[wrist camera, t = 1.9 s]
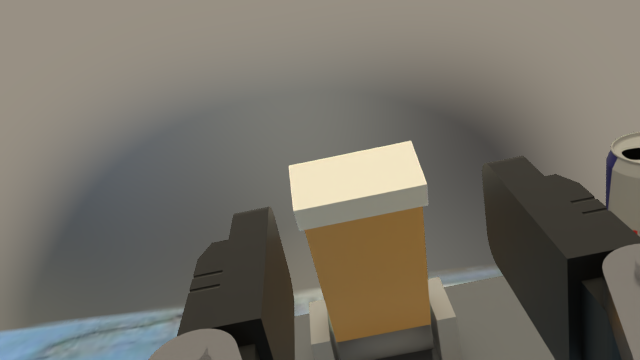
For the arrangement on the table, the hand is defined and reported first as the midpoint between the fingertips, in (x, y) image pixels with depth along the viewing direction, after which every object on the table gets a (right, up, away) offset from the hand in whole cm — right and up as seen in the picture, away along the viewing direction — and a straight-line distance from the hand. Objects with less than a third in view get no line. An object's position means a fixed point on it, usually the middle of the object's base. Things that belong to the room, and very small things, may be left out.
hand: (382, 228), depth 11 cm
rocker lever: (+2, -8, +21) cm, 23 cm away
